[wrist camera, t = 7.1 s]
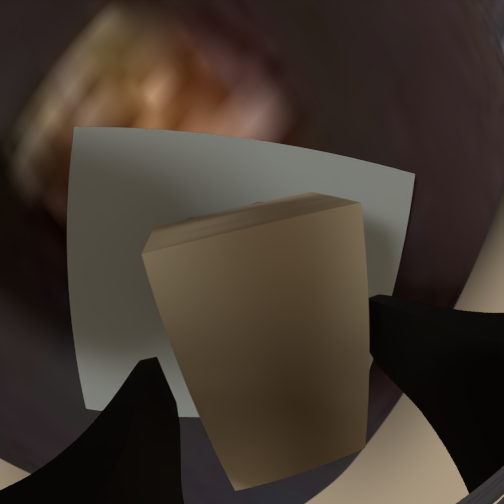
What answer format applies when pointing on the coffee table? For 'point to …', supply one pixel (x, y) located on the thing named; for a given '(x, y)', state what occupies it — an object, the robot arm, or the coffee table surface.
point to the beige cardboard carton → (270, 330)
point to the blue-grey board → (181, 208)
